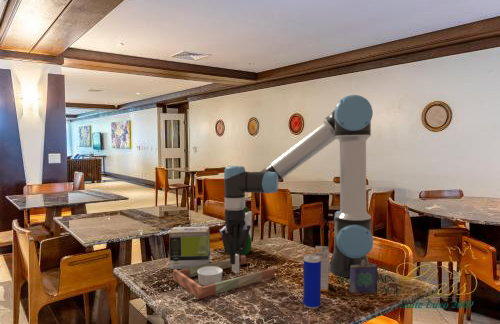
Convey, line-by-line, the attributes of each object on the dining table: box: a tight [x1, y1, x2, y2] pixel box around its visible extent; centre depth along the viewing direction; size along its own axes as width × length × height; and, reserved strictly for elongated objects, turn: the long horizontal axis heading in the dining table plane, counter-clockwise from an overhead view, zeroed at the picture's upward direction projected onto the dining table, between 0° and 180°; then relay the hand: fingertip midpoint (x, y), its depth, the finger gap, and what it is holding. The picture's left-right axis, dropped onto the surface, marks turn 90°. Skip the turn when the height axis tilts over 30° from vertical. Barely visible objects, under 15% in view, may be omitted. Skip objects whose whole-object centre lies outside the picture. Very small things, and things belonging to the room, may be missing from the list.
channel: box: [172, 255, 276, 299], centre depth 131 cm, size 19×31×4 cm, turn 126°
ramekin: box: [197, 266, 224, 286], centre depth 127 cm, size 9×9×4 cm
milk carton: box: [241, 205, 253, 256], centre depth 161 cm, size 9×9×20 cm
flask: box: [349, 259, 379, 295], centre depth 119 cm, size 9×3×11 cm, turn 96°
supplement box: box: [314, 245, 330, 293], centre depth 123 cm, size 8×5×13 cm, turn 168°
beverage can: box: [302, 253, 322, 310], centre depth 109 cm, size 5×5×15 cm
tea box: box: [168, 225, 211, 270], centre depth 144 cm, size 15×10×15 cm
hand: (235, 271), depth 133 cm, fingers closed
